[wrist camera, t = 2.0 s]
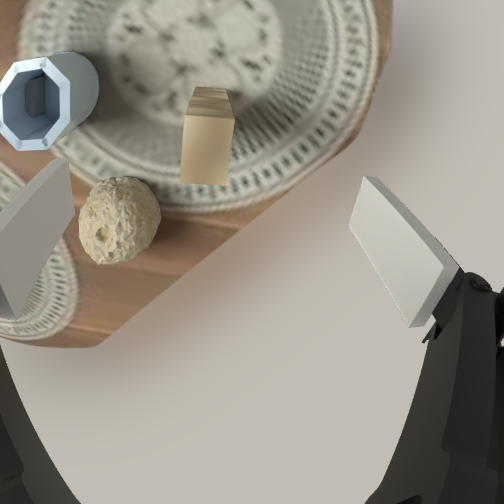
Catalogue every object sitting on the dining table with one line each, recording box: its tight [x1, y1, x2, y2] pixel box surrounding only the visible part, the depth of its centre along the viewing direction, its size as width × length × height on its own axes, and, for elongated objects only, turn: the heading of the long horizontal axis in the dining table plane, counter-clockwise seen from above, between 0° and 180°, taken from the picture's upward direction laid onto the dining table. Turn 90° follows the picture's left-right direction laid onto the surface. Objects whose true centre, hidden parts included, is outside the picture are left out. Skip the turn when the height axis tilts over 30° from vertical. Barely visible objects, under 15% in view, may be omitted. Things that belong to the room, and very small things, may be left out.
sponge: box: [79, 176, 161, 265], centre depth 34 cm, size 9×10×10 cm
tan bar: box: [180, 87, 235, 186], centre depth 25 cm, size 3×4×14 cm, turn 171°
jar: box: [0, 51, 100, 151], centre depth 23 cm, size 9×9×8 cm
